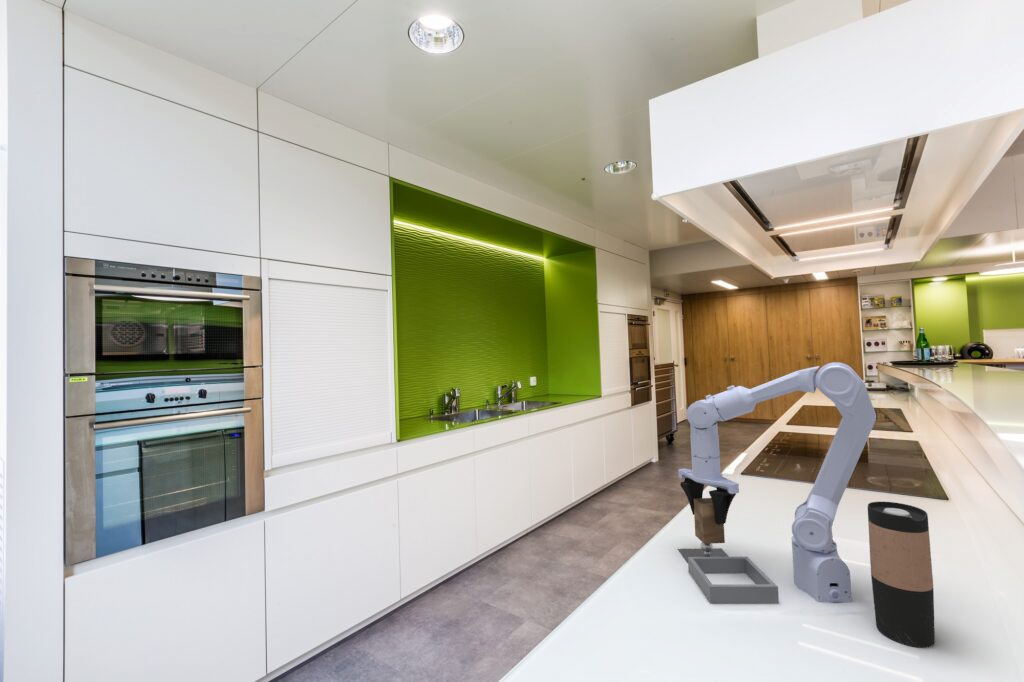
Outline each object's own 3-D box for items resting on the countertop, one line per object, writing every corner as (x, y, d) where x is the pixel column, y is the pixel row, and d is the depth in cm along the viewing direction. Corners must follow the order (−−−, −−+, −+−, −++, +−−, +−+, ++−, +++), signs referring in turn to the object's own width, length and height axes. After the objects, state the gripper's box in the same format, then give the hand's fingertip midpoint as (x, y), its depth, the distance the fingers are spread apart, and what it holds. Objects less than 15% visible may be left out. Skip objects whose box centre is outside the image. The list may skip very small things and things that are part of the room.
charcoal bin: (779, 609, 80) (777, 586, 80) (710, 609, 81) (709, 586, 81) (748, 576, 92) (747, 556, 92) (688, 576, 93) (687, 556, 93)
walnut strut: (724, 542, 95) (722, 504, 95) (704, 543, 95) (702, 505, 95) (714, 534, 99) (713, 497, 99) (695, 535, 99) (693, 498, 99)
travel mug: (874, 614, 78) (867, 498, 78) (934, 630, 73) (926, 506, 73) (874, 637, 72) (866, 511, 72) (939, 655, 67) (930, 520, 68)
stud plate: (741, 573, 93) (739, 550, 93) (692, 574, 94) (690, 550, 94) (721, 552, 103) (720, 531, 103) (677, 553, 104) (676, 532, 104)
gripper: (747, 459, 92) (751, 526, 92) (693, 447, 106) (696, 505, 105) (723, 464, 90) (727, 532, 89) (670, 451, 103) (673, 511, 102)
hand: (708, 518), depth 97 cm, fingers closed on walnut strut, 6 cm apart
